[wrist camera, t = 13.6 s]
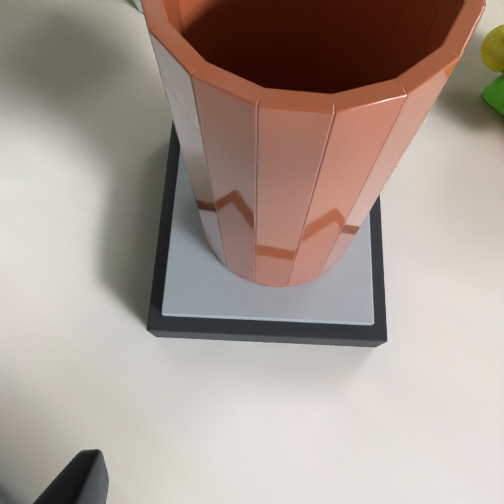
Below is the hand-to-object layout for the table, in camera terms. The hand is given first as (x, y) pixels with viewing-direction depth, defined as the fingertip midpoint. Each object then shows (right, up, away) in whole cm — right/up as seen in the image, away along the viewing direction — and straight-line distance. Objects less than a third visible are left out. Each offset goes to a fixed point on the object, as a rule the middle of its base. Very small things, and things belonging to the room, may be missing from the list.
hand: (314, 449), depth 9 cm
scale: (0, +5, +15) cm, 16 cm away
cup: (0, +6, +12) cm, 14 cm away
